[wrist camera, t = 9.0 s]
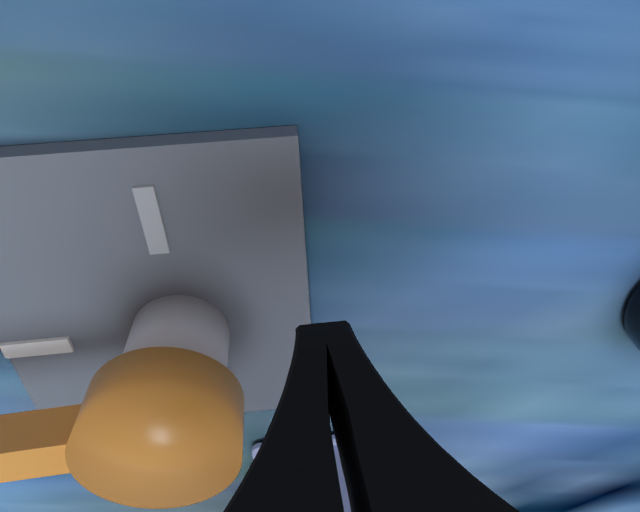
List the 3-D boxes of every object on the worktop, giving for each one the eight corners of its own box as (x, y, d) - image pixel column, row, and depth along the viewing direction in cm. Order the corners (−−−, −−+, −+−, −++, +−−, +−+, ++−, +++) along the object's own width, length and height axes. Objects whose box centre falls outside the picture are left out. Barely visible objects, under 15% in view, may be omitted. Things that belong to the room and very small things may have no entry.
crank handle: (228, 336, 18) (224, 391, 16) (255, 438, 21) (255, 496, 19) (-164, 389, 18) (-223, 453, 15) (-74, 485, 21) (-113, 549, 19)
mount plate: (314, 387, 28) (323, 468, 24) (57, 414, 27) (19, 502, 23) (296, 125, 19) (305, 178, 15) (-77, 151, 19) (-174, 216, 14)
